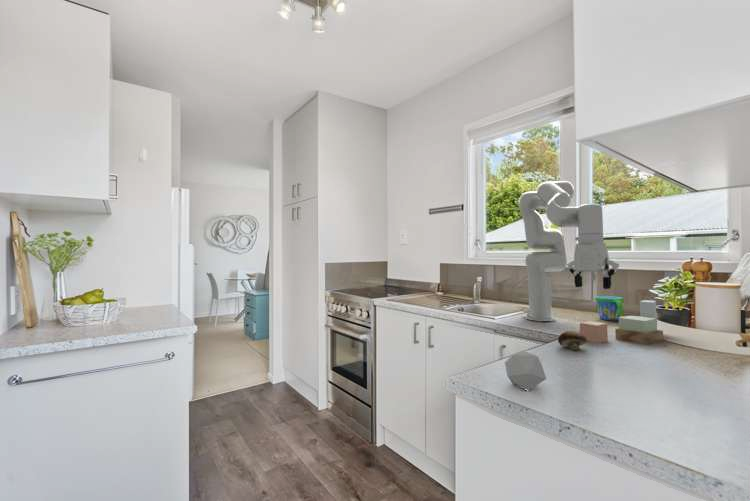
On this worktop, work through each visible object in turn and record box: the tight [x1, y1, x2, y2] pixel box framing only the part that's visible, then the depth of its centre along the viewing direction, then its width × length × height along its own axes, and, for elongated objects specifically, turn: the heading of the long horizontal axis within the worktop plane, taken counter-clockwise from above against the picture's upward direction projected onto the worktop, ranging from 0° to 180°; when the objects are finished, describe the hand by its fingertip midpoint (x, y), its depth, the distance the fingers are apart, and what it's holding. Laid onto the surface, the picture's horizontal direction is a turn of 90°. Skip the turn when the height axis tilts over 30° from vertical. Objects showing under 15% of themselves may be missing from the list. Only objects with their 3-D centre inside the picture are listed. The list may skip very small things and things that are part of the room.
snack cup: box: [594, 295, 624, 322], centre depth 159 cm, size 16×10×10 cm
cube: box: [579, 320, 609, 344], centre depth 123 cm, size 6×6×6 cm
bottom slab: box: [614, 327, 664, 346], centre depth 122 cm, size 10×10×4 cm
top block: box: [618, 315, 658, 333], centre depth 122 cm, size 8×8×4 cm
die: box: [504, 350, 547, 391], centre depth 81 cm, size 8×9×10 cm
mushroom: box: [557, 330, 588, 351], centre depth 112 cm, size 8×8×6 cm
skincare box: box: [639, 299, 658, 320], centre depth 131 cm, size 6×4×12 cm
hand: (592, 287), depth 123 cm, fingers open, 9 cm apart
